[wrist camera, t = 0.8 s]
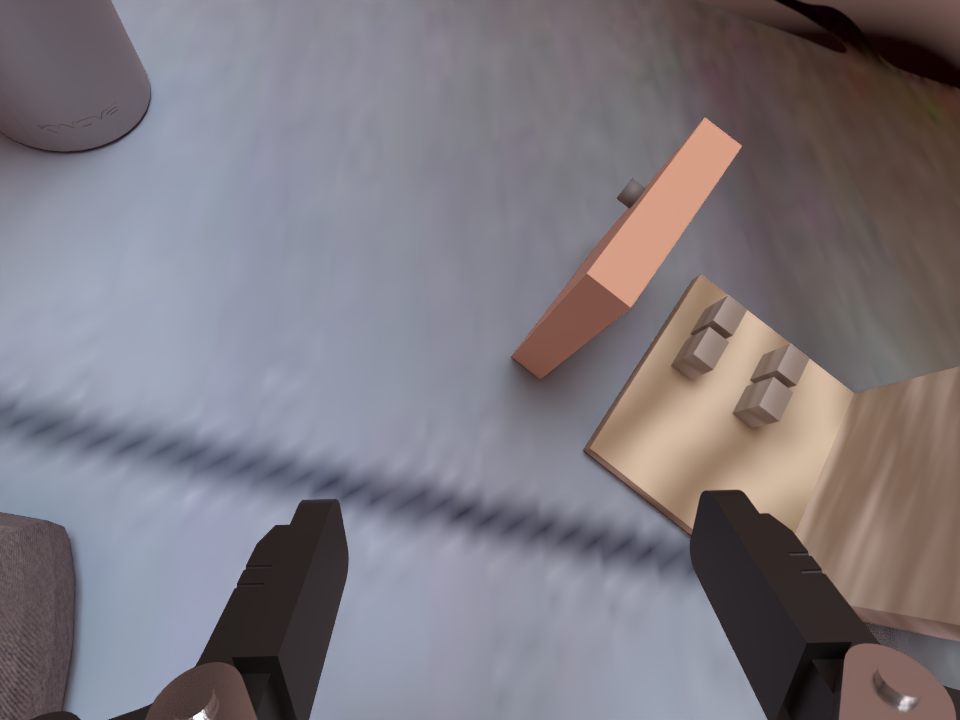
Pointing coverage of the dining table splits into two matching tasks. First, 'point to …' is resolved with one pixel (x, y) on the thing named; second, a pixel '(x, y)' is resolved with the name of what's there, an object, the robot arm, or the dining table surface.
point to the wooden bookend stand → (800, 455)
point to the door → (629, 250)
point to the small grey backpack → (34, 616)
